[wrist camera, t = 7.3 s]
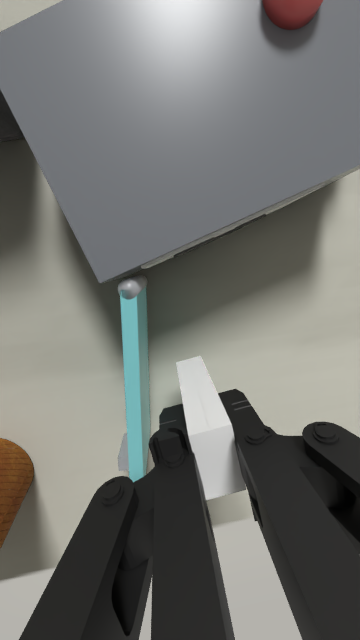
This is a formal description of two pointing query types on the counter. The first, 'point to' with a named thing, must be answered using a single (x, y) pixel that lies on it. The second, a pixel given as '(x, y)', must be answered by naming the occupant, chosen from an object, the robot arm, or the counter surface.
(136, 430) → the door
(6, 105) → the camera
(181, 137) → the grey boxy piece
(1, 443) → the disposable coffee cup
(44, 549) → the counter surface
